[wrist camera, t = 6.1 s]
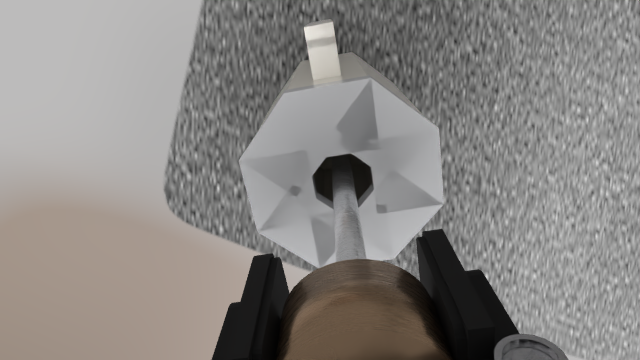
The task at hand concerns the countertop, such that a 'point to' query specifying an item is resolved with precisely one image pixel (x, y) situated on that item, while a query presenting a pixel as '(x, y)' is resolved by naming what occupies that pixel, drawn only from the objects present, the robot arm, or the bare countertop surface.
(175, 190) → the countertop surface
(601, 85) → the countertop surface
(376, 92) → the press pot
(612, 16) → the countertop surface
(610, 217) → the countertop surface
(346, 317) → the plunger
